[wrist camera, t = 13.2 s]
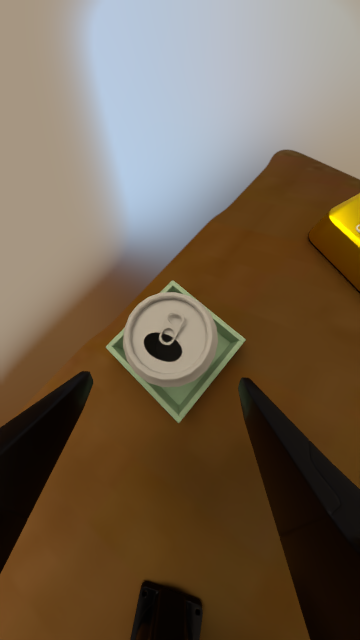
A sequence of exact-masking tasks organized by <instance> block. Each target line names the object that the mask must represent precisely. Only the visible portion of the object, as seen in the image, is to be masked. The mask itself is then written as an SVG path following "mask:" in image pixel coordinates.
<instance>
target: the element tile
mask: <svg viewBox="0 0 360 640" xmlns="http://www.w3.org/2000/svg"><path fill="white" fill-rule="evenodd" d="M309 239H310V241H311V242H312V244H313V245H314V246H315V247H316V248H317V249H318V250H319V251H320V252H321V253H322V254H323V255H324V256H325V257H326V258H327V259H328V260H329V261H330V262H331V263H332V264H333V265H334V266H335V267H336V268H337V269H338V270H339V271H340V272H341V273H342V274H343V275H344V276H345V277H346V278H347V279H348V280H349V281H350V282H351V283H352V284H353V285H354V286H355V287H356V288H357V289H358V291H359V292H360V193H359V194H358V195H356V196H354V197H352V198H350V199H348V200H347V201H345V202H343V203H341V204H339V205H338V206H336V207H334V208H332V209H331V210H330V211H329V212H328V213H327V214H326V215H325V216H324V217H323V218H322V219H321V220H320V221H319V222H318V223H317V224H316V225H315V226H314V227H313V228H312V229H311V231H310V232H309Z"/></svg>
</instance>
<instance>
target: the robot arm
mask: <svg viewBox="0 0 360 640" xmlns="http://www.w3.org/2000/svg"><path fill="white" fill-rule="evenodd" d="M92 385H93V379H92V376H91V374H90V372H88V371H82V372H80V373H79V374H77V375H76V376H74V377H73V378H71V379H70V380H68V381H67V382H66V383H64V384H63V385H61V386H60V387H58V388H57V389H55V390H54V391H53V392H51V393H50V394H48V395H47V396H45V397H44V398H42V399H41V400H39V401H38V402H37V403H35V404H34V405H32V406H31V407H29V408H28V409H26V410H25V411H24V412H22V413H21V414H19V415H18V416H16V417H15V418H13V419H12V420H10V421H9V422H8V423H6V424H5V425H4V426H2V427H1V428H0V573H1V571H2V569H3V567H4V565H5V564H6V562H7V560H8V558H9V556H10V554H11V552H12V550H13V548H14V546H15V544H16V542H17V540H18V538H19V536H20V534H21V532H22V530H23V528H24V526H25V524H26V522H27V519H28V518H29V516H30V514H31V512H32V510H33V508H34V506H35V504H36V502H37V500H38V498H39V496H40V494H41V492H42V490H43V488H44V486H45V484H46V482H47V480H48V478H49V476H50V474H51V472H52V470H53V468H54V466H55V464H56V462H57V460H58V458H59V456H60V454H61V452H62V450H63V448H64V446H65V444H66V442H67V440H68V438H69V436H70V434H71V432H72V430H73V429H74V427H75V425H76V423H77V421H78V419H79V417H80V415H81V413H82V410H83V408H84V406H85V403H86V401H87V398H88V396H89V393H90V390H91V388H92ZM238 390H239V396H240V401H241V406H242V411H243V416H244V420H245V424H246V427H247V430H248V434H249V437H250V440H251V444H252V447H253V450H254V454H255V457H256V460H257V463H258V467H259V470H260V473H261V477H262V480H263V483H264V487H265V490H266V493H267V497H268V500H269V503H270V507H271V510H272V513H273V517H274V520H275V523H276V527H277V530H278V533H279V536H280V540H281V544H282V547H283V550H284V553H285V557H286V560H287V563H288V567H289V570H290V573H291V577H292V580H293V583H294V587H295V590H296V593H297V597H298V600H299V603H300V607H301V610H302V613H303V617H304V620H305V623H306V627H307V630H308V633H309V637H310V640H360V489H359V488H358V487H357V486H356V485H355V484H354V483H352V482H351V481H350V480H349V479H348V478H347V477H346V476H345V475H344V474H343V473H342V472H341V471H340V470H339V469H338V468H337V467H335V466H334V465H333V464H332V463H331V462H330V461H329V460H328V459H327V458H326V457H325V456H324V455H323V454H322V453H321V452H320V451H319V450H318V449H317V448H316V447H315V446H314V444H313V443H312V442H311V441H309V440H308V438H307V437H306V436H305V435H304V434H303V433H302V432H301V431H300V430H299V429H298V428H297V427H296V426H295V425H294V424H293V423H292V422H291V421H290V420H289V419H288V418H287V417H286V416H285V415H284V414H283V413H282V411H281V410H280V409H279V408H278V407H277V406H276V405H275V404H274V403H273V402H272V401H271V400H270V399H269V398H268V397H267V396H266V395H265V394H264V393H263V392H262V391H261V390H260V389H259V388H258V387H257V386H256V385H255V384H254V383H253V381H252V380H251V379H249V378H241V380H240V383H239V387H238ZM144 590H146V592H145V591H144ZM202 614H203V613H202V603H201V601H200V600H199V599H196V598H193V597H190V596H187V595H184V594H182V593H179V592H176V591H173V590H170V589H167V588H164V587H161V586H158V585H155V584H152V583H149V582H143V583H142V585H141V589H140V594H139V599H138V604H137V609H136V615H135V620H134V625H133V630H132V635H131V640H199V638H200V630H201V622H202Z"/></svg>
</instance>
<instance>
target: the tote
mask: <svg viewBox="0 0 360 640" xmlns="http://www.w3.org/2000/svg"><path fill="white" fill-rule="evenodd" d="M165 292H176V293H180V294H184V295H188V296H190V297H192V298H194V297H193V296H192V295H190V294H189V293H188V292H187V291H185V290H184V289H183V288H182V287H181V286H179V285H178V284H177V283H176V282H174V281H173V280H172V281H171V282H170V283H169V284H168V285H167V286H166V287H165V288H164V289H163V290H162V291H161V292H160V293H165ZM194 299H195V298H194ZM195 300H197V299H195ZM197 301H198V300H197ZM203 306H204V305H203ZM204 307H205V306H204ZM205 308H206V307H205ZM206 309H207V310H208V311H209V312H210V314H211V316H212V318H213V320H214V322H215V325H216V327H217V337H218V344H217V349H216V353H215V357H214V359H213V360H212V362H211V364H210V365H209V367H208V369H207V370H206V371H205V372H204V373H203V374H202V375H201V376H199V377H198V378H197V379H196V380H195V381H192V382H190V383H187V384H185V385H182V386H180V387H161V386H158V385H154V384H151V383H148V382H147V381H145V380H144V379H143V378H141V377H140V376H139V375H137V374H136V373H135V372H134V370H133V369H132V367H131V366H130V364H129V363H128V361H127V359H126V355H125V351H124V348H123V336H124V329H125V328H124V329H123V330H122V331H121V332H120V333H119V334H118V335H117V336H116V337H115V338H114V339H113V340H112V341H111V342H110V343H109V344H108V345H107V346H106V348H107V349H108V350H109V351H110V352H111V353H112V355H113V356H114V357H115V358H116V359H117V360H118V361H119V362H120V363H121V364H122V365H123V366H124V367H125V368H126V369H127V370H128V371H129V372H130V373H131V374H132V375H133V376H134V377H135V379H136V380H137V381H138V382H139V383H140V384H141V385H142V386H143V387H144V388H145V389H146V390H147V391H148V392H149V393H150V394H151V395H152V396H153V397H154V398H155V399H156V400H157V401H158V403H159V404H160V405H161V406H162V407H163V408H164V409H165V410H166V411H167V412H168V413H169V414H170V415H171V416H172V417H173V418H174V419H175V420H176V421H177V422H178V423H179V422H180V421H181V420H182V419H183V417H184V416H185V415H186V414H187V412H188V411H189V410H190V409H191V407H192V406H193V405H194V404H195V402H196V401H197V400H198V399H199V398H200V396H201V395H202V394H203V393H204V391H205V390H206V389H207V388H208V386H209V385H210V384H211V383H212V381H213V380H214V379H215V378H216V376H217V375H218V374H219V373H220V371H221V370H222V369H223V368H224V366H225V365H226V364H227V363H228V361H229V360H230V359H231V358H232V356H233V355H234V354H235V353H236V351H237V350H238V349H239V348H240V346H241V345H242V344H243V343H244V341H245V340H246V339H244V338H243V337H242V336H241V335H239V334H238V333H237V332H236V331H235V330H233V329H232V328H231V327H230V326H228V325H227V324H226V323H225V322H224V321H222V320H221V319H220V318H219V317H217V316H216V315H215V314H214V313H212V312H211V311H210V310H209V309H208V308H206Z"/></svg>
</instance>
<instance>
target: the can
mask: <svg viewBox="0 0 360 640" xmlns="http://www.w3.org/2000/svg"><path fill="white" fill-rule="evenodd" d="M217 344H218V337H217V327H216V325H215V322H214V320H213V318H212V316H211V314H210V312H209V311H208V310H207V309H206V308H205V307H204V306H203V304H202V303H200V302H199V301H197V300H195V299H194V298H192V297H190V296H188V295H184V294H180V293H176V292H165V293H159V294H156V295H153V296H150V297H148V298H146V299H145V300H144V301H142V302H141V303H139V304H138V305H137V306H136V308H135V309H134V310H133V312H132V313H131V314H130V315H129V318H128V321H127V323H126V326H125V329H124V336H123V348H124V351H125V355H126V359H127V361H128V363H129V364H130V366H131V367H132V369H133V370H134V372H135V373H136V374H137V375H139V376H140V377H141V378H143V379H144V380H145V381H147V382H148V383H151V384H154V385H158V386H161V387H180V386H182V385H185V384H187V383H190V382H192V381H195V380H196V379H197V378H198V377H199V376H201V375H202V374H203V373H204V372H205V371H206V370H207V369H208V367H209V365H210V364H211V362H212V360H213V359H214V357H215V353H216V349H217Z"/></svg>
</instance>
